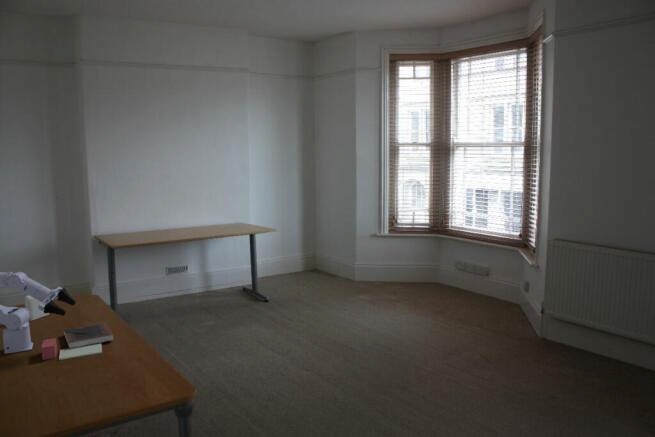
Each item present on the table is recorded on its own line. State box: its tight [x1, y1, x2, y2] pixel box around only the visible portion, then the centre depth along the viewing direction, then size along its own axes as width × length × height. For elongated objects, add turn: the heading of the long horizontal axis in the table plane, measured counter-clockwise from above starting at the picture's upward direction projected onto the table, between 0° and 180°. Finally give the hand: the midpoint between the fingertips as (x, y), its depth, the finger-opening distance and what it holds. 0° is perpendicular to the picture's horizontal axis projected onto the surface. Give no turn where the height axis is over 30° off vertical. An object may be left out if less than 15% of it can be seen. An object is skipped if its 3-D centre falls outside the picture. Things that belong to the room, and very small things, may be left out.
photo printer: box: [23, 294, 50, 322], centre depth 267 cm, size 10×4×12 cm, turn 152°
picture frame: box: [63, 322, 114, 349], centre depth 236 cm, size 16×2×22 cm
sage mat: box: [58, 343, 103, 361], centre depth 221 cm, size 15×10×1 cm, turn 113°
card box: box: [40, 337, 58, 361], centre depth 219 cm, size 9×4×5 cm, turn 22°
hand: (69, 308), depth 226 cm, fingers open, 7 cm apart
